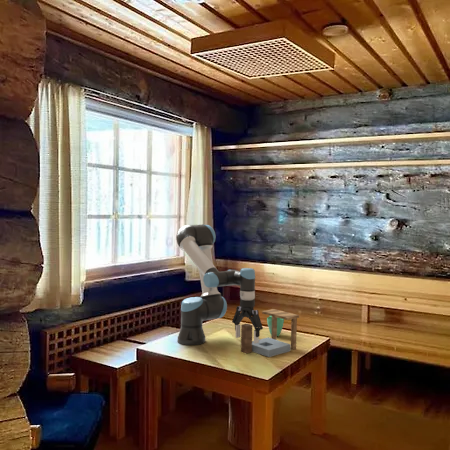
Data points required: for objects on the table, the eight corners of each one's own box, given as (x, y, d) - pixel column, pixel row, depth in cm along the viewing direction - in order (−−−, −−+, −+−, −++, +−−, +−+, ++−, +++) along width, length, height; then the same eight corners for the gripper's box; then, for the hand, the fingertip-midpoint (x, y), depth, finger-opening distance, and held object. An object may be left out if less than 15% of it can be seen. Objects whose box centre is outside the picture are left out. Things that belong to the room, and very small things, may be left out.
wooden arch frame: (261, 344, 266) (262, 311, 265) (273, 341, 272) (273, 308, 271) (286, 353, 253) (287, 317, 252) (298, 349, 259) (299, 315, 258)
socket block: (246, 349, 258) (246, 342, 258) (268, 343, 268) (268, 337, 268) (268, 357, 246) (268, 350, 245) (290, 351, 256) (290, 344, 256)
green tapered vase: (286, 337, 281) (286, 320, 281) (270, 338, 279) (270, 320, 278) (277, 330, 295) (277, 313, 295) (261, 331, 293) (262, 314, 292)
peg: (240, 351, 254) (241, 324, 253) (246, 350, 256) (247, 323, 256) (246, 353, 251) (246, 326, 250) (251, 352, 253) (252, 325, 253)
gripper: (225, 296, 259) (225, 336, 260) (259, 303, 240) (258, 346, 241) (236, 294, 264) (236, 333, 265) (270, 301, 245) (269, 344, 246)
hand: (246, 340), depth 253 cm, fingers open, 13 cm apart
